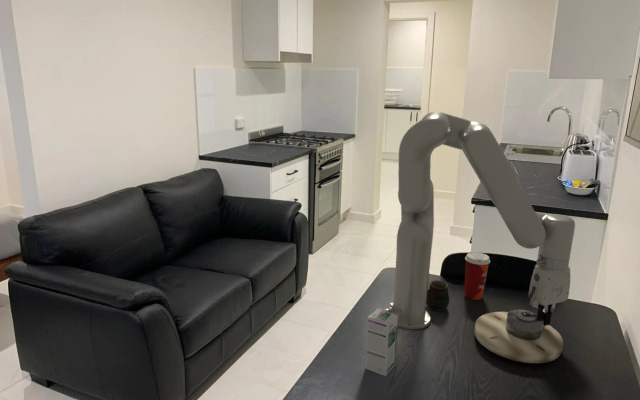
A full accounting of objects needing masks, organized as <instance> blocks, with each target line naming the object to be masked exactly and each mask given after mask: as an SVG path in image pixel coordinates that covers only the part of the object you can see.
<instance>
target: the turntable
mask: <svg viewBox="0 0 640 400" xmlns="http://www.w3.org/2000/svg"><path fill="white" fill-rule="evenodd" d="M508 312H509V311H494V312H489V313H488V312H487V313H485V314H482V315H480V316H479V317H478V318H477V319H476V321H475V323H474V324H475V325H474V336H475V338H476V340H477V341H478V342H479V344H481V345H482V346H483V347H484V348H486V349H487V350H488V351H490V352H492V353H493V354H496V355H497V356H500V357H502V358H504V359H505V358H506V359H507V360H511V361H514V362H515V361H516V362H520V363H525V364H526V363H527V364H544V363H545V364H546V363H549V362H552V361H555V360H556V359H558V358H559V357H560V356H561V354H562V351H563V347H564V339H563V337H562V336H561V334H560V332H558V330H556V329H555V328H553V326H551V324H550V325H547V326H544V325H543V329H542V335H541V337H540V338H539V339H537V340H524V339H520V338H517V337H515V336H513V335H511V334H510V333H508V332H507V330H506V321H507V314H508Z"/></svg>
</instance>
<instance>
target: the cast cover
mask: <svg viewBox="0 0 640 400" xmlns="http://www.w3.org/2000/svg"><path fill="white" fill-rule="evenodd" d="M507 312H508V314H507V321H506V330H507V332H508V333H510V334H511V335H513V336H515V337H517V338H520V339H524V340H537V339H539V338H540V337H541V335H542V329H543V323H544V321H543V319H542V317H540V316H539V315H537V314H538V313H535V312H534V311H530V310H527V309H518V308H517V309H511V310H509V311H507Z"/></svg>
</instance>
